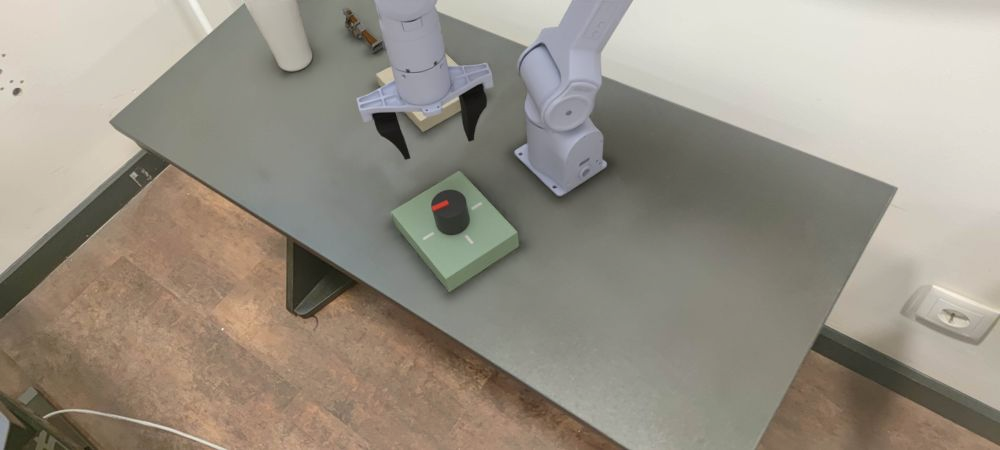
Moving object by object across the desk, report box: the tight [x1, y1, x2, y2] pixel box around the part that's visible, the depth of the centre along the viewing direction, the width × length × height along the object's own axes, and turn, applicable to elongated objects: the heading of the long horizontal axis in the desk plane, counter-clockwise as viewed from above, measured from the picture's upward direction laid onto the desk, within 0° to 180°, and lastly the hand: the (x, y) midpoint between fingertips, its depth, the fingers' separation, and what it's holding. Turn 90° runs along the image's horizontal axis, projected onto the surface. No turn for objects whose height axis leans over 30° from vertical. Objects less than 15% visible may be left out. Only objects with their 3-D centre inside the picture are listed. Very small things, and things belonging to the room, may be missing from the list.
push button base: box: [375, 52, 461, 133], centre depth 97 cm, size 12×10×4 cm
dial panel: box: [390, 170, 520, 293], centre depth 83 cm, size 12×10×3 cm
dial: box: [431, 190, 470, 235], centre depth 80 cm, size 4×4×4 cm
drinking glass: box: [243, 0, 313, 72], centre depth 99 cm, size 7×7×15 cm
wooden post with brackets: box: [341, 6, 384, 54], centre depth 106 cm, size 2×8×4 cm, turn 44°
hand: (437, 144), depth 82 cm, fingers open, 7 cm apart
